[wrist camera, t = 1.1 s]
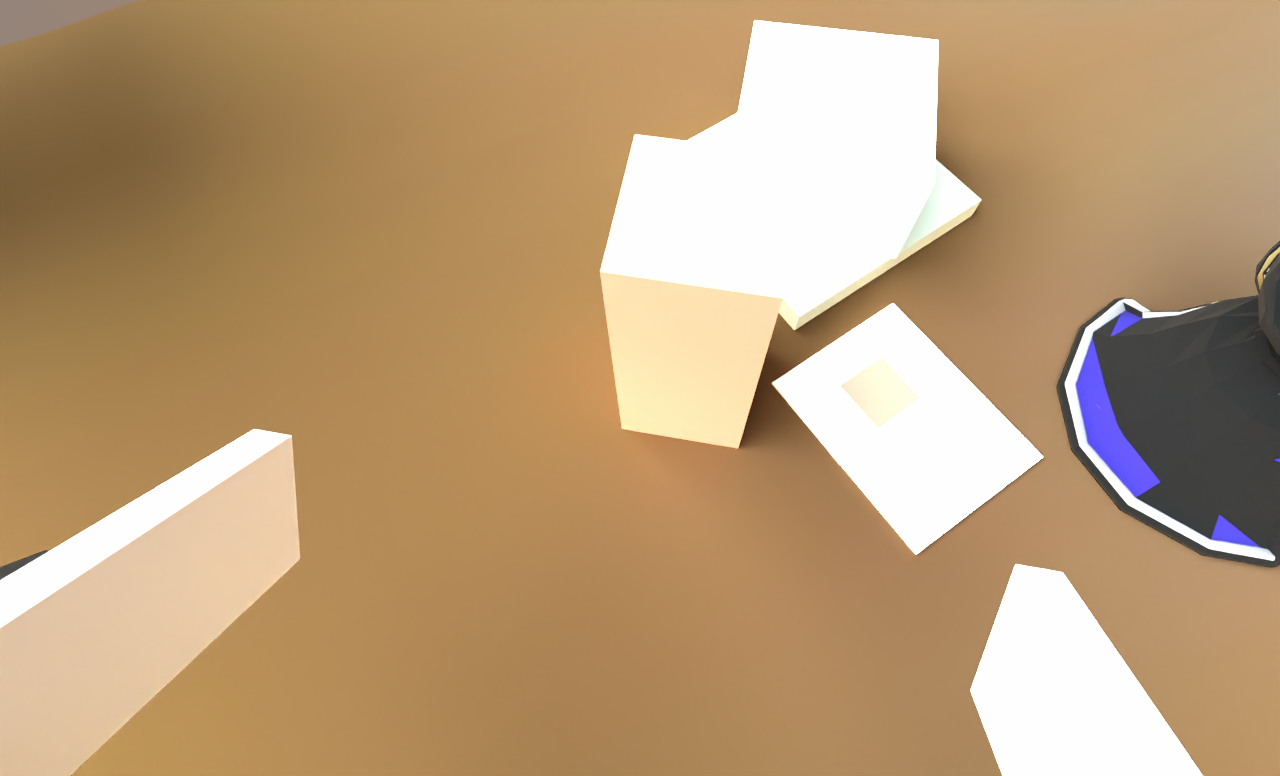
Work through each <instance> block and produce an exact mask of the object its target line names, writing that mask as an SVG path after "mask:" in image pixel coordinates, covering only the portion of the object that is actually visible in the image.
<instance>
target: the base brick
mask: <svg viewBox="0 0 1280 776" xmlns="http://www.w3.org/2000/svg"><path fill="white" fill-rule="evenodd" d="M938 46H939V40H935V39H925V38H916V37H907V36H897V35H888V34H879V33H870V32H860V31H851V30H842V29H832V28H823V27H814V26H804V25H795V24H786V23H776V22H767V21H758V20H754V25H753V31H752V36H751V42H750V47H749V53H748V59H747V64H746V70H745V76H744V81H743V87H742V92H741V98H740V104H739V109H738V115H737V120H736V126H735V132H734V137H733V143H732V147H740V148H748V149H756V150H764V151H772V152H779V153H787V154H795V155H801V157H800V165H799V173H798V181H797V189H796V196H795V204H794V212H793V220H792V228H791V236H790V244H793V245H801V246H808V247H815V248H822V249H829V250H837V251H844V252H851V253H858V254H865V255H873V256H880V257H887V258H894V259H896V258H897V256H898V254H899V252H900V250H901V248H902V246H903V244H904V243H905V241H906V239H907V237H908V235H909V233H910V231H911V229H912V227H913V225H914V223H915V221H916V219H917V217H918V216H919V214H920V212H921V210H922V208H923V206H924V204H925V202H926V200H927V198H928V196H929V194H930V192H931V191H932V189H933V187H934V185H935V157H936V120H937V83H938Z"/></svg>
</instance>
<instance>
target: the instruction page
mask: <svg viewBox="0 0 1280 776" xmlns="http://www.w3.org/2000/svg"><path fill="white" fill-rule="evenodd" d="M772 385H773V386H774V387H775V389H776V390H777V391H778V392H779V393H780V395H781V396H782V397H783V398H784V399H785V400H786V402H787V403H788V404H789V405H790V406H791V408H792V409H793V410H794V411H795V412H796V414H797V415H798V416H799V417H800V418H801V419H802V421H803V422H804V423H805V424H806V425H807V427H808V428H809V429H810V430H811V431H812V433H813V434H814V435H815V436H816V437H817V438H818V440H819V441H820V442H821V443H822V444H823V446H824V447H825V448H826V449H827V450H828V452H829V453H830V454H831V455H832V456H833V457H834V459H835V460H836V461H837V462H838V463H839V465H840V466H841V467H842V468H843V469H844V470H845V472H846V473H847V474H848V475H849V476H850V478H851V479H852V480H853V481H854V482H855V484H856V485H857V486H858V487H859V488H860V489H861V491H862V492H863V493H864V494H865V495H866V497H867V498H868V499H869V500H870V501H871V503H872V504H873V505H874V506H875V507H876V508H877V510H878V511H879V512H880V513H881V514H882V516H883V517H884V518H885V519H886V520H887V522H888V523H889V524H890V525H891V526H892V527H893V529H894V530H895V531H896V532H897V533H898V535H899V536H900V537H901V538H902V539H903V541H904V542H905V543H906V544H907V545H908V546H909V548H910V549H911V550H912V551H913V552H914V554H915V555H916V554H918V553H919V552H920V551H922V550H923V549H924V548H926V547H927V546H928V545H930V544H931V543H932V542H934V541H935V540H936V539H937V538H939V537H940V536H941V535H943V534H944V533H945V532H947V531H948V530H949V529H950V528H952V527H953V526H954V525H956V524H957V523H958V522H960V521H961V520H962V519H964V518H965V517H966V516H967V515H969V514H970V513H971V512H973V511H974V510H975V509H977V508H978V507H979V506H980V505H982V504H983V503H984V502H986V501H987V500H988V499H990V498H991V497H992V496H994V495H995V494H996V493H997V492H999V491H1000V490H1001V489H1003V488H1004V487H1005V486H1007V485H1008V484H1009V483H1010V482H1012V481H1013V480H1014V479H1016V478H1017V477H1018V476H1020V475H1021V474H1022V473H1024V472H1025V471H1026V470H1027V469H1029V468H1030V467H1031V466H1033V465H1034V464H1035V463H1037V462H1038V461H1039V460H1040V459H1042V458H1043V456H1042V455H1041V454H1040V453H1039V451H1038V450H1037V449H1036V448H1035V447H1034V446H1033V445H1032V444H1031V443H1030V442H1029V441H1028V440H1027V439H1026V438H1025V437H1024V436H1023V435H1022V434H1021V433H1020V432H1019V431H1018V430H1017V429H1016V428H1015V427H1014V426H1013V425H1012V424H1011V423H1010V422H1009V421H1008V420H1007V419H1006V418H1005V417H1004V416H1003V415H1002V414H1001V413H1000V412H999V411H998V410H997V409H996V407H995V406H994V405H993V404H992V403H991V402H990V401H989V400H988V399H987V398H986V397H985V396H984V395H983V394H982V393H981V392H980V391H979V390H978V389H977V388H976V387H975V386H974V385H973V384H972V383H971V382H970V381H969V380H968V379H967V378H966V377H965V376H964V375H963V374H962V373H961V372H960V371H959V370H958V369H957V368H956V367H955V366H954V365H953V363H952V362H951V361H950V360H949V359H948V358H947V357H946V356H945V355H944V354H943V353H942V352H941V351H940V350H939V349H938V348H937V347H936V346H935V345H934V344H933V343H932V342H931V341H930V340H929V339H928V338H927V337H926V336H925V335H924V334H923V333H922V332H921V331H920V330H919V329H918V328H917V327H916V326H915V325H914V324H913V323H912V322H911V320H910V319H909V318H908V317H907V316H906V315H905V314H904V313H903V312H902V311H901V310H900V309H899V308H898V307H897V306H896V305H895V304H894V303H892V304H890V305H889V306H887V307H886V308H884V309H883V310H881V311H880V312H878V313H877V314H875V315H874V316H872V317H871V318H869V319H868V320H866V321H864V322H863V323H861V324H860V325H858V326H857V327H855V328H854V329H852V330H851V331H849V332H848V333H846V334H845V335H843V336H842V337H840V338H839V339H837V340H836V341H834V342H833V343H831V344H830V345H828V346H827V347H825V348H824V349H822V350H821V351H819V352H817V353H816V354H814V355H813V356H811V357H810V358H808V359H807V360H805V361H804V362H802V363H801V364H799V365H798V366H796V367H795V368H793V369H792V370H790V371H789V372H787V373H786V374H784V375H783V376H781V377H780V378H778V379H777V380H775V381H774V382H772Z"/></svg>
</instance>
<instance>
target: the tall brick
mask: <svg viewBox="0 0 1280 776" xmlns="http://www.w3.org/2000/svg"><path fill="white" fill-rule="evenodd" d="M800 157H801V155H795V154H787V153H779V152H772V151H764V150H756V149H748V148H740V147H732V146H724V145H716V144H708V143H700V142H692V141H684V140H676V139H668V138H661V137H653V136H645V135H637V134H635V135H634V139H633V143H632V147H631V151H630V155H629V159H628V163H627V167H626V171H625V175H624V178H623V182H622V186H621V190H620V194H619V198H618V202H617V206H616V210H615V214H614V218H613V222H612V226H611V230H610V234H609V238H608V242H607V246H606V250H605V254H604V258H603V262H602V266H601V270H600V275H601V283H602V290H603V297H604V304H605V311H606V318H607V326H608V333H609V340H610V347H611V354H612V362H613V369H614V376H615V383H616V390H617V397H618V405H619V412H620V419H621V426H622V429H625V430H631V431H637V432H643V433H649V434H655V435H661V436H667V437H673V438H679V439H685V440H691V441H696V442H702V443H708V444H714V445H720V446H726V447H732V448H739V444H740V441H741V437H742V434H743V431H744V427H745V424H746V421H747V417H748V414H749V410H750V407H751V404H752V400H753V397H754V394H755V390H756V387H757V383H758V380H759V377H760V373H761V370H762V366H763V363H764V360H765V356H766V353H767V350H768V346H769V343H770V339H771V336H772V333H773V329H774V326H775V322H776V319H777V316H778V312H779V309H780V306H781V302H782V299H783V291H784V283H785V275H786V268H787V260H788V252H789V244H790V236H791V228H792V220H793V212H794V204H795V196H796V189H797V181H798V173H799V165H800Z"/></svg>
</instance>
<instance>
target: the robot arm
mask: <svg viewBox="0 0 1280 776" xmlns="http://www.w3.org/2000/svg"><path fill="white" fill-rule="evenodd" d="M299 560H300V546H299V532H298V517H297V503H296V488H295V474H294V460H293V445H292V435H286V434H280V433H275V432H269V431H263V430H258V429H253V430H251V431H250V432H248V433H246V434H245V435H243V436H241V437H240V438H238V439H236V440H235V441H233V442H231V443H230V444H228V445H226V446H225V447H223V448H221V449H220V450H218V451H216V452H215V453H213V454H211V455H210V456H208V457H206V458H204V459H203V460H201V461H199V462H198V463H196V464H194V465H193V466H191V467H189V468H188V469H186V470H184V471H183V472H181V473H179V474H178V475H176V476H174V477H173V478H171V479H169V480H168V481H166V482H164V483H163V484H161V485H159V486H158V487H156V488H154V489H153V490H151V491H149V492H147V493H146V494H144V495H142V496H141V497H139V498H137V499H136V500H134V501H132V502H131V503H129V504H127V505H126V506H124V507H122V508H121V509H119V510H117V511H116V512H114V513H112V514H111V515H109V516H107V517H106V518H104V519H102V520H101V521H99V522H97V523H96V524H94V525H92V526H91V527H89V528H87V529H85V530H84V531H82V532H80V533H79V534H77V535H75V536H74V537H72V538H70V539H69V540H67V541H65V542H64V543H62V544H60V545H59V546H57V547H55V548H54V549H52V550H50V551H47V550H45V551H42V552H39V553H37V554H34V555H31V556H29V557H26V558H23V559H21V560H18V561H15V562H13V563H10V564H7V565H4V566H2V567H0V776H71V775H72V774H73V773H74V772H75V771H76V770H77V769H78V768H79V767H80V766H81V765H82V764H83V763H84V762H85V761H86V760H88V759H89V758H90V757H91V756H92V755H93V754H94V753H95V752H96V751H97V750H98V749H99V748H100V747H101V746H102V745H103V744H104V743H106V742H107V741H108V740H109V739H110V738H111V737H112V736H113V735H114V734H115V733H116V732H117V731H118V730H119V729H120V728H121V727H123V726H124V725H125V724H126V723H127V722H128V721H129V720H130V719H131V718H132V717H133V716H134V715H135V714H136V713H137V712H138V711H140V710H141V709H142V708H143V707H144V706H145V705H146V704H147V703H148V702H149V701H150V700H151V699H152V698H153V697H154V696H155V695H157V694H158V693H159V692H160V691H161V690H162V689H163V688H164V687H165V686H166V685H167V684H168V683H169V682H170V681H171V680H172V679H174V678H175V677H176V676H177V675H178V674H179V673H180V672H181V671H182V670H183V669H184V668H185V667H186V666H187V665H188V664H189V663H190V662H192V661H193V660H194V659H195V658H196V657H197V656H198V655H199V654H200V653H201V652H202V651H203V650H204V649H205V648H206V647H207V646H209V645H210V644H211V643H212V642H213V641H214V640H215V639H216V638H217V637H218V636H219V635H220V634H221V633H222V632H223V631H224V630H226V629H227V628H228V627H229V626H230V625H231V624H232V623H233V622H234V621H235V620H236V619H237V618H238V617H239V616H240V615H241V614H243V613H244V612H245V611H246V610H247V609H248V608H249V607H250V606H251V605H252V604H253V603H254V602H255V601H256V600H257V599H258V598H260V597H261V596H262V595H263V594H264V593H265V592H266V591H267V590H268V589H269V588H270V587H271V586H272V585H273V584H274V583H275V582H277V581H278V580H279V579H280V578H281V577H282V576H283V575H284V574H285V573H286V572H287V571H288V570H289V569H290V568H291V567H292V566H293V565H295V564H296V563H297V562H298V561H299ZM970 691H971V694H972V697H973V699H974V702H975V705H976V707H977V710H978V712H979V715H980V718H981V720H982V723H983V726H984V728H985V731H986V734H987V736H988V739H989V741H990V744H991V747H992V749H993V752H994V755H995V757H996V760H997V763H998V765H999V768H1000V771H1001V773H1002V776H1203V775H1202V774H1201V772H1200V771H1199V769H1198V768H1197V766H1196V765H1195V764H1194V762H1193V761H1192V759H1191V758H1190V756H1189V755H1188V753H1187V752H1186V751H1185V749H1184V748H1183V746H1182V745H1181V743H1180V742H1179V740H1178V739H1177V737H1176V736H1175V735H1174V733H1173V732H1172V730H1171V729H1170V727H1169V726H1168V724H1167V723H1166V721H1165V720H1164V719H1163V717H1162V716H1161V714H1160V713H1159V711H1158V710H1157V708H1156V707H1155V705H1154V704H1153V703H1152V701H1151V700H1150V698H1149V697H1148V695H1147V694H1146V692H1145V691H1144V689H1143V688H1142V687H1141V685H1140V684H1139V682H1138V681H1137V679H1136V678H1135V676H1134V675H1133V674H1132V672H1131V671H1130V669H1129V668H1128V666H1127V665H1126V663H1125V662H1124V660H1123V659H1122V658H1121V656H1120V655H1119V653H1118V652H1117V650H1116V649H1115V647H1114V646H1113V644H1112V643H1111V642H1110V640H1109V639H1108V637H1107V636H1106V634H1105V633H1104V631H1103V630H1102V628H1101V627H1100V626H1099V624H1098V623H1097V621H1096V620H1095V618H1094V617H1093V615H1092V614H1091V613H1090V611H1089V610H1088V608H1087V607H1086V605H1085V604H1084V602H1083V601H1082V599H1081V598H1080V597H1079V595H1078V594H1077V592H1076V591H1075V589H1074V588H1073V586H1072V585H1071V583H1070V582H1069V581H1068V579H1067V578H1066V576H1065V575H1064V573H1063V572H1059V571H1053V570H1048V569H1042V568H1036V567H1031V566H1025V565H1019V564H1015V566H1014V569H1013V572H1012V575H1011V578H1010V580H1009V583H1008V586H1007V589H1006V592H1005V594H1004V597H1003V600H1002V603H1001V606H1000V608H999V611H998V614H997V617H996V620H995V622H994V625H993V628H992V631H991V634H990V636H989V639H988V642H987V645H986V648H985V650H984V653H983V656H982V659H981V662H980V664H979V667H978V670H977V673H976V676H975V678H974V681H973V684H972V687H971V690H970Z"/></svg>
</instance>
